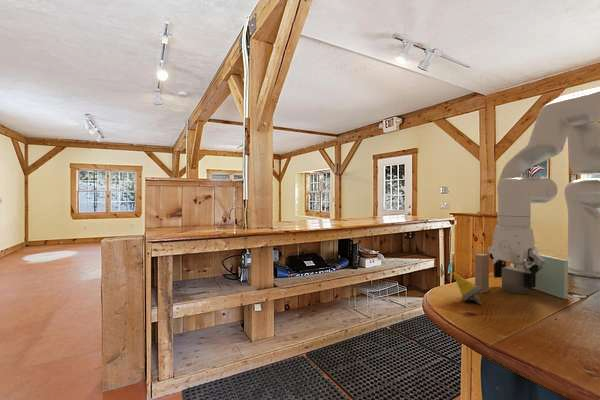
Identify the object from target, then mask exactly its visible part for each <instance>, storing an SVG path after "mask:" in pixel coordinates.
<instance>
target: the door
mask: <svg viewBox="0 0 600 400" xmlns="http://www.w3.org/2000/svg"><path fill="white" fill-rule="evenodd" d="M538 254H539V253H538ZM539 255H540V256H541V257H543V258H544V259H545V263H544V265H543V266H542V269H540V270H539V271H538V273H536V284H535V287H533V288H532V289H534V290H536V291H540V292H543V293H546V294H548V295H552V296H554V297H557V298H560V299H563V300H565V299H567V300H568V297H569V273H568V259H563V258H559V257H554V256H549V255H545V254H539ZM535 262H536V261H535ZM535 262H534V265H535ZM513 267H516V268H522V269H524V268H523V267H522V265H517V264H513ZM528 267H529V268H530V266H529V265H528Z"/></svg>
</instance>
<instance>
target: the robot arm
mask: <svg viewBox="0 0 600 400" xmlns="http://www.w3.org/2000/svg"><path fill="white" fill-rule="evenodd" d="M537 114H538V115H537V117H536V120H535V123H534V126H533V128H532V131H531V135H530V136H529V141H528V143H527V144H526V146H525V147H523V148H522V149H521V150H520V151H518V152H516V154H515V155H514V156H513V157H511V158H510V159H509V160H508V161H507V162H506V164H505V165H504V167H503V168H502V170H501V173H500V176H499V178H498V183H497V187H496V194H497V217H496V221H497V224H496V225H495V227H494V231H493V235H492V245H490V246H488V247H487V251H488V255H489V259H491V263H492V264H493V277H494V278H496V279H497V278H498V279H499V278H502V268H503V267H506V265H505V263H504V262H506V263H508V264H513V265H514V264H517V265H522V267H523V268H524V270H525V271H526V273H524V274H523V286H524V287H525V288H528V289H533V287H535V284H536V273H538V271H539V270H540V269H542V266H543V265H544V263H545V259H544V258H543V257H541V256H540V255H539V253H538V254H537V253H536V252H535V245H536V241H535V237H534V236H535V235H534V231H533V228H532V227H531V222H532V221H531V213H532V211H531V208H532V207H531V205H532V204H546V203H549V202H551V201H552V200H554V199H555V198H556V196H557V194H558V186H557V185H558V184H557V183H556V182H555V181H554V180H552V179H551V178H549V177H545V176H544V177H543V176H533V177H532V176H531V177H528V176H527V177H521V176H522V175H523V174H524V173H525V172H526V171H528V170H529V169H530V168H533V167H534V166H535V165H538V164H541V163H543V162H545V161H547V160H550V159H552V158H554V157H556V156H558V155H560V153H561V152H563V150H564V147H565V143H566V140H567V150H568V151H567V153H568V165H569V169H570V171H571V173H573V174H575V175H578V176H579V175H581V176H582V175H585V176H587V175H588V176H590V175H600V123H599V122H600V86H599V87H595V88H591V89H587V90H583V91H578V92H574V93H570V94H567V95H563V96H560V97H558V98H555V99H553V100H552V101H551V102H549V103H547V104H544V105H543V106H542V107H541V108H540V110H539V111H538V113H537ZM564 198H565V202H566V207H567V208H566V209H567V260H568V274H572V275H576V276H581V277H582V276H583V277H589V278H597V279H600V178H599V177H598V178H580V179H576V180H572V181H570V182H569V183H567V185H566V186H565V187H564ZM535 261H536V262H535ZM534 262H535V265H534ZM528 265H529V266H530V268H529V267H528Z"/></svg>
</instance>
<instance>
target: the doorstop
mask: <svg viewBox="0 0 600 400" xmlns="http://www.w3.org/2000/svg"><path fill="white" fill-rule="evenodd" d="M524 273H526V271H525V270H524V269H522V268H516V267H514V266H505V267H503V268H502V277H501V290H502V291H504V292H506V291H507V292H506V293H509V292H510V293H511V294H514V295H526V294H528V292H529V291H528V289H529V288H525V287H524V286H523V274H524ZM510 293H509V294H510Z"/></svg>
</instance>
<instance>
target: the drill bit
mask: <svg viewBox="0 0 600 400" xmlns="http://www.w3.org/2000/svg"><path fill="white" fill-rule="evenodd" d="M452 274H453V277H454V279H455V282H456V285H457V287H458V288H459V291H460V294H461V296H462V297H461V299H462V301H464V302H466V301H468V300H469V299H471V298H472V299H473V300H474V301H475V303H477V304H480V305H483V303H482V301H481V300H480V298H479V296H478V295H477V294H478V293H480V292H479V291H481V290H482V288H481V287H480V286H476V285H475V283H473V282H471V281H469V280H468V279H466V278H465V277H462V276H461V275H459V274H458V273H456V272H454V271H453V272H452Z"/></svg>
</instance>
